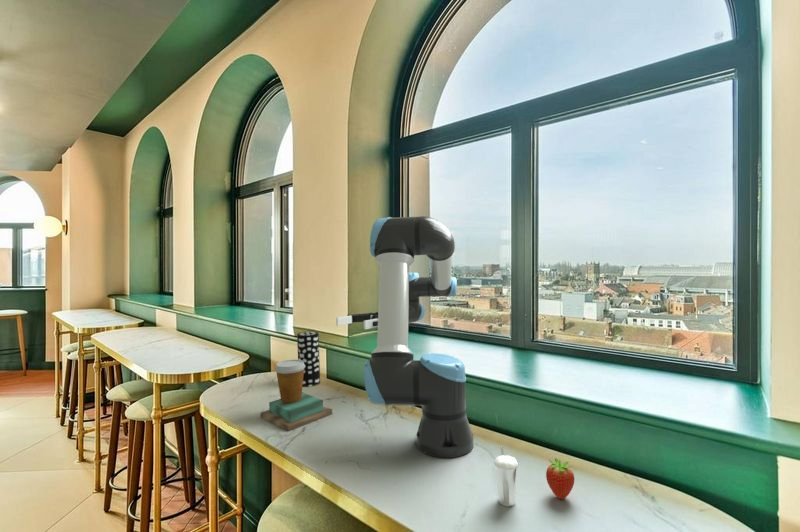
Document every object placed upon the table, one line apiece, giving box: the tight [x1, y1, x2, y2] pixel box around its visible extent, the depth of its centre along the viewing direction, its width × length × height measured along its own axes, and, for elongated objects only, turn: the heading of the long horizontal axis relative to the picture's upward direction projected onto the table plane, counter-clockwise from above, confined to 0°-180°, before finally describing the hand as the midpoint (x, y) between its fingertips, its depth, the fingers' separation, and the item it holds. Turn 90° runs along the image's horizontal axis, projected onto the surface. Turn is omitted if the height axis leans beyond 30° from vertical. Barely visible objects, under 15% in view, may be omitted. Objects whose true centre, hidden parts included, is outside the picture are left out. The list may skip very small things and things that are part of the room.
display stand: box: [260, 392, 333, 432], centre depth 130 cm, size 16×16×5 cm
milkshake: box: [494, 445, 519, 507], centre depth 83 cm, size 4×5×10 cm
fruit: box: [545, 457, 575, 500], centre depth 83 cm, size 5×5×8 cm
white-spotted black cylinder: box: [296, 331, 321, 388], centre depth 162 cm, size 8×8×20 cm
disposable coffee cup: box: [274, 359, 305, 403], centre depth 130 cm, size 10×10×12 cm
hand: (350, 323), depth 135 cm, fingers open, 13 cm apart
